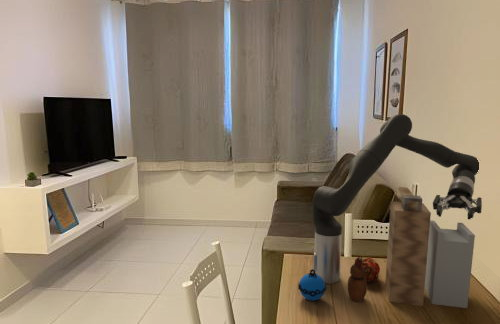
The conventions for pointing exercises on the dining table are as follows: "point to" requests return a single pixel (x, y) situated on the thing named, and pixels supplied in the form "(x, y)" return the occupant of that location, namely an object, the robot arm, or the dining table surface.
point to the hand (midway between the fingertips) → (453, 215)
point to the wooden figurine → (357, 281)
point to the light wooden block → (409, 200)
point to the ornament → (312, 286)
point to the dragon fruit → (370, 269)
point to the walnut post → (407, 254)
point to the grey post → (449, 265)
